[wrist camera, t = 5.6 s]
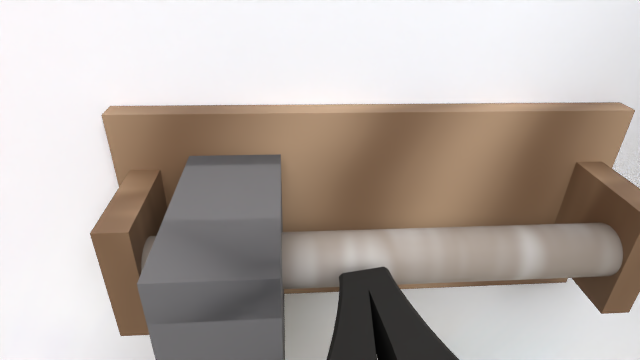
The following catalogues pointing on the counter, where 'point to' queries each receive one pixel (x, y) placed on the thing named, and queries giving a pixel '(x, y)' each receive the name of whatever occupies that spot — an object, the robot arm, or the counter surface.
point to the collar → (218, 263)
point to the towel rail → (396, 193)
